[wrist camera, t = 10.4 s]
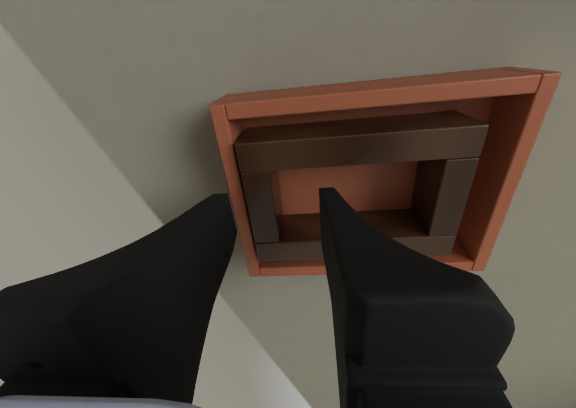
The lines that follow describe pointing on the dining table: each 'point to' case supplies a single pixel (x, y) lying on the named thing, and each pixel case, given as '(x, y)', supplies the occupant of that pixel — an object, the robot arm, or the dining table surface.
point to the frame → (358, 151)
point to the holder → (399, 175)
